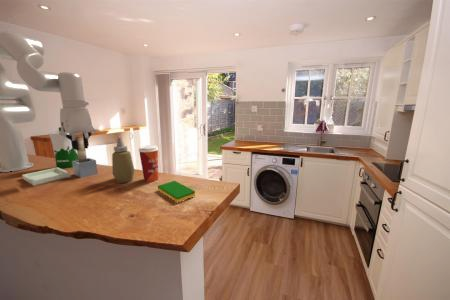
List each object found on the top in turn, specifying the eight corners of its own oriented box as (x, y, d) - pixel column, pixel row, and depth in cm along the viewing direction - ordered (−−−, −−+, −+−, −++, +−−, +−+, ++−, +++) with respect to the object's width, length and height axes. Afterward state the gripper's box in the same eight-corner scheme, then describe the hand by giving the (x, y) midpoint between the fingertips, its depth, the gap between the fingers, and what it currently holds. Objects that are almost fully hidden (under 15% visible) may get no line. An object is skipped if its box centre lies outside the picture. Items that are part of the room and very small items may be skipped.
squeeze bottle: (110, 180, 83) (104, 137, 79) (130, 175, 88) (125, 135, 84) (118, 186, 77) (111, 140, 73) (138, 180, 83) (134, 137, 79)
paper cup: (154, 183, 80) (151, 149, 77) (137, 182, 81) (133, 148, 78) (164, 176, 87) (162, 145, 84) (148, 175, 89) (145, 144, 86)
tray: (23, 180, 84) (22, 174, 83) (58, 172, 93) (57, 167, 93) (34, 188, 76) (32, 181, 75) (71, 178, 86) (70, 172, 85)
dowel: (77, 164, 87) (73, 136, 84) (85, 162, 90) (81, 135, 87) (81, 165, 86) (76, 137, 83) (88, 163, 88) (84, 136, 85)
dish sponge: (175, 186, 78) (174, 180, 77) (195, 197, 68) (195, 191, 68) (157, 191, 73) (157, 185, 73) (177, 204, 63) (176, 197, 63)
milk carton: (82, 164, 107) (76, 126, 102) (74, 169, 98) (66, 128, 94) (63, 165, 105) (56, 127, 100) (53, 170, 96) (44, 129, 92)
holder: (74, 176, 88) (71, 161, 86) (91, 172, 93) (88, 157, 92) (81, 179, 84) (78, 163, 83) (98, 175, 90) (95, 160, 88)
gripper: (91, 104, 91) (97, 144, 95) (45, 104, 77) (54, 151, 81) (99, 105, 87) (105, 146, 91) (52, 105, 73) (61, 153, 77)
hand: (80, 148), depth 86 cm, fingers closed on dowel, 3 cm apart
